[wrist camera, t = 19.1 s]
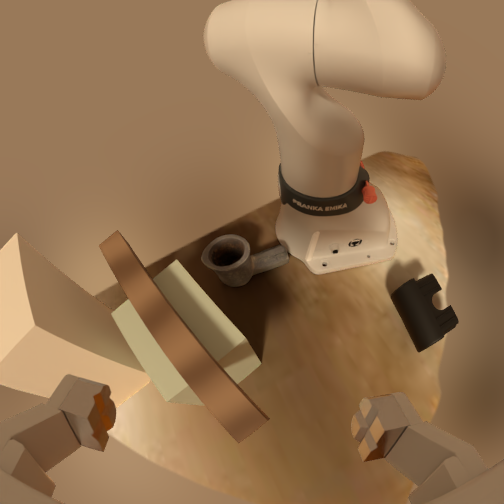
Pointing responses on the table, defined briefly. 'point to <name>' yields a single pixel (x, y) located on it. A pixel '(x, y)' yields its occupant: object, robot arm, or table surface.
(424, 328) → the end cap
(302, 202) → the robot arm
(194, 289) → the low stool
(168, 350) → the walnut bar
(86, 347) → the tall stand
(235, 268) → the pipe
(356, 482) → the table surface
